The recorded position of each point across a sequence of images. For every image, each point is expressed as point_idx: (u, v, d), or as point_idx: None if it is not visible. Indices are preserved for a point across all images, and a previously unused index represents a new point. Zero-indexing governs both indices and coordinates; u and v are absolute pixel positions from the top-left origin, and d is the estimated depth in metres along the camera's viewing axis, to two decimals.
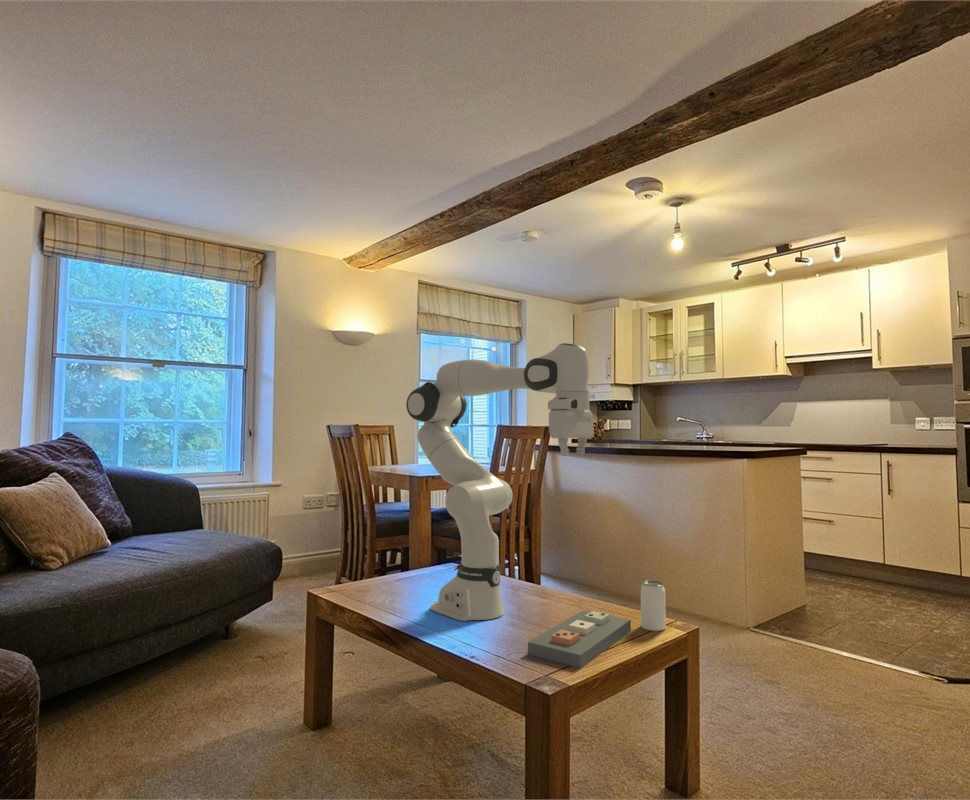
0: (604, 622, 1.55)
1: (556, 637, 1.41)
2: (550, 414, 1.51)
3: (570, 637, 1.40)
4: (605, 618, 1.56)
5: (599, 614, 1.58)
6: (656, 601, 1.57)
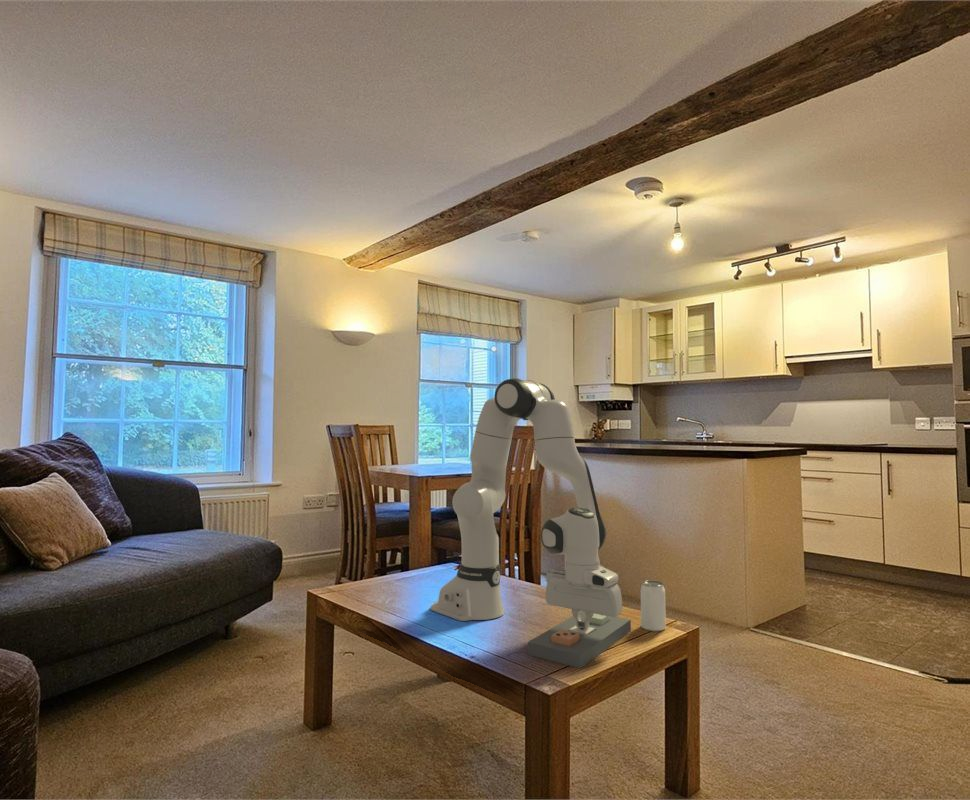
0: (604, 622, 1.55)
1: (556, 637, 1.41)
2: (613, 592, 1.44)
3: (570, 637, 1.40)
4: (605, 618, 1.56)
5: None
6: (656, 601, 1.57)
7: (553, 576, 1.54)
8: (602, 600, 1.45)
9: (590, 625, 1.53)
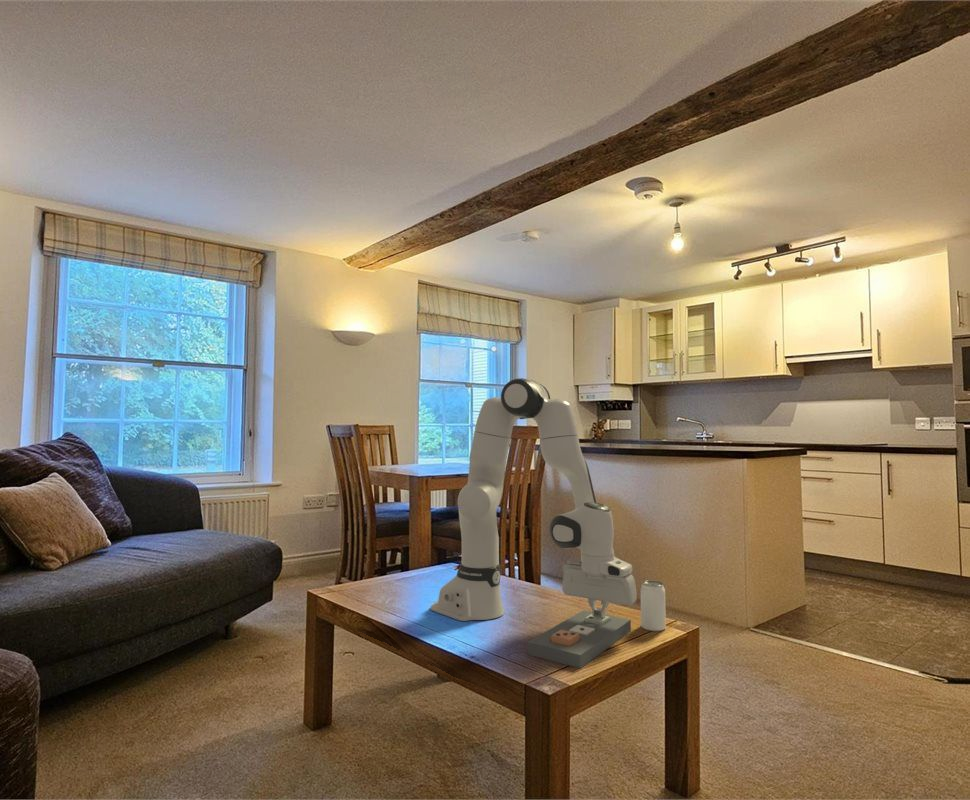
0: None
1: (556, 637, 1.41)
2: (628, 582, 1.51)
3: (570, 637, 1.40)
4: (605, 621, 1.55)
5: (599, 617, 1.58)
6: (656, 601, 1.57)
7: (569, 567, 1.62)
8: (617, 590, 1.53)
9: (590, 625, 1.53)
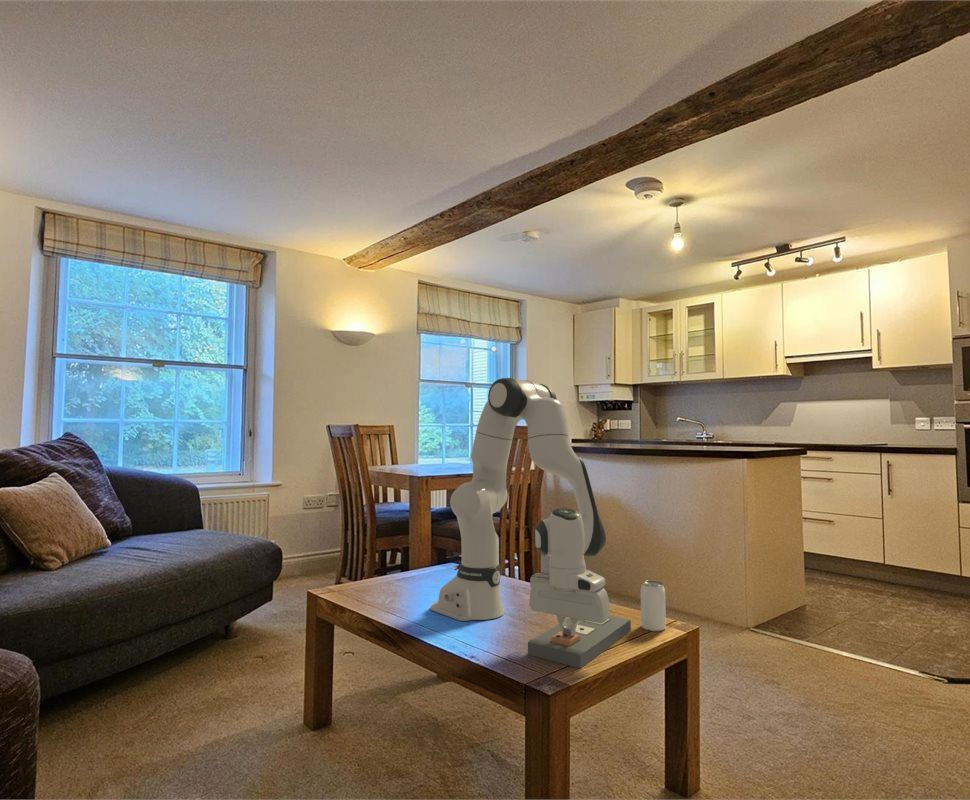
0: None
1: (556, 639, 1.41)
2: (600, 597, 1.36)
3: (570, 639, 1.40)
4: (605, 623, 1.55)
5: None
6: (656, 601, 1.57)
7: (537, 580, 1.47)
8: (588, 606, 1.38)
9: (590, 625, 1.53)
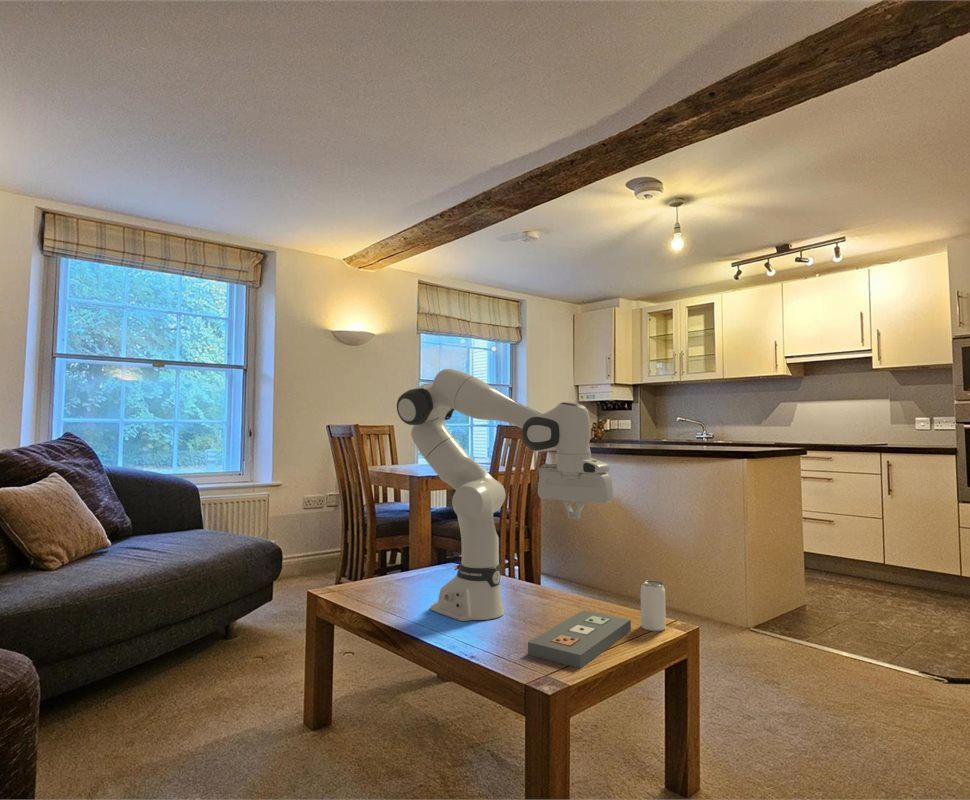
0: None
1: None
2: (604, 479, 1.46)
3: (570, 643, 1.40)
4: (605, 623, 1.55)
5: (599, 619, 1.58)
6: (656, 601, 1.57)
7: (545, 470, 1.57)
8: (593, 488, 1.47)
9: (590, 625, 1.53)
